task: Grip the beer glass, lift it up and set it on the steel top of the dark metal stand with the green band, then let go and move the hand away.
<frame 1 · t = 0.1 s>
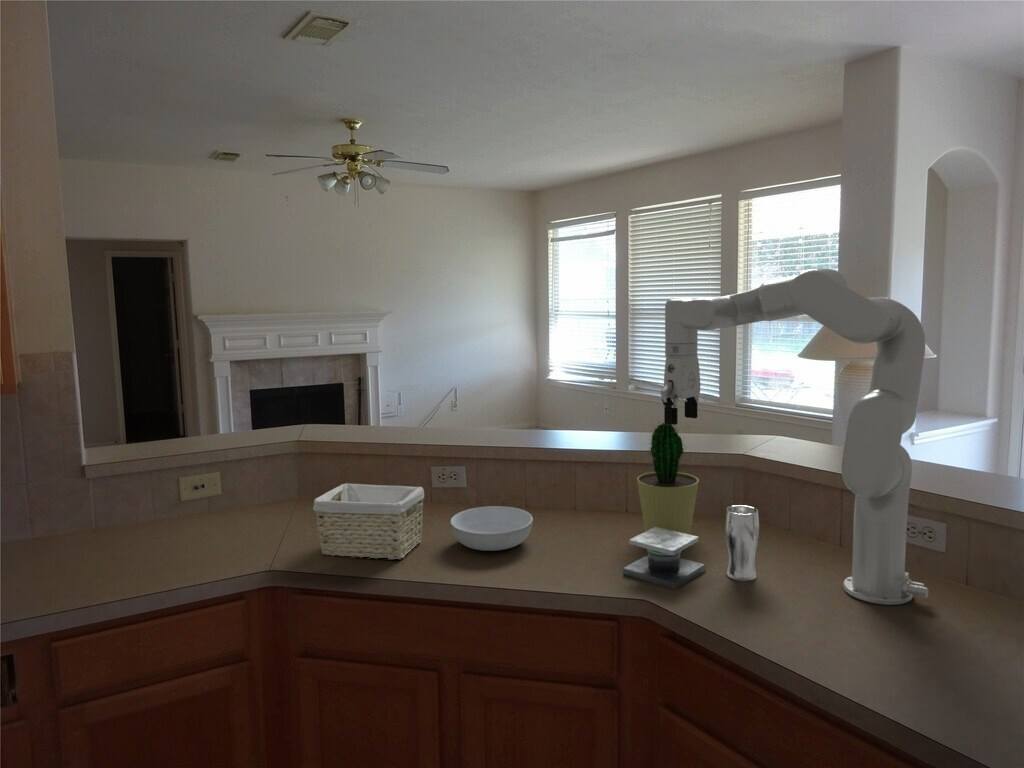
hand: (681, 420, 171), 31 cm above the worktop, tool pointing down, fingers open, 9 cm apart
serving bowl: (492, 545, 180), on the worktop
metal stand: (664, 572, 158), on the worktop
storage basket: (372, 549, 179), on the worktop
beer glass: (741, 576, 155), on the worktop
potted cactus: (667, 535, 182), on the worktop
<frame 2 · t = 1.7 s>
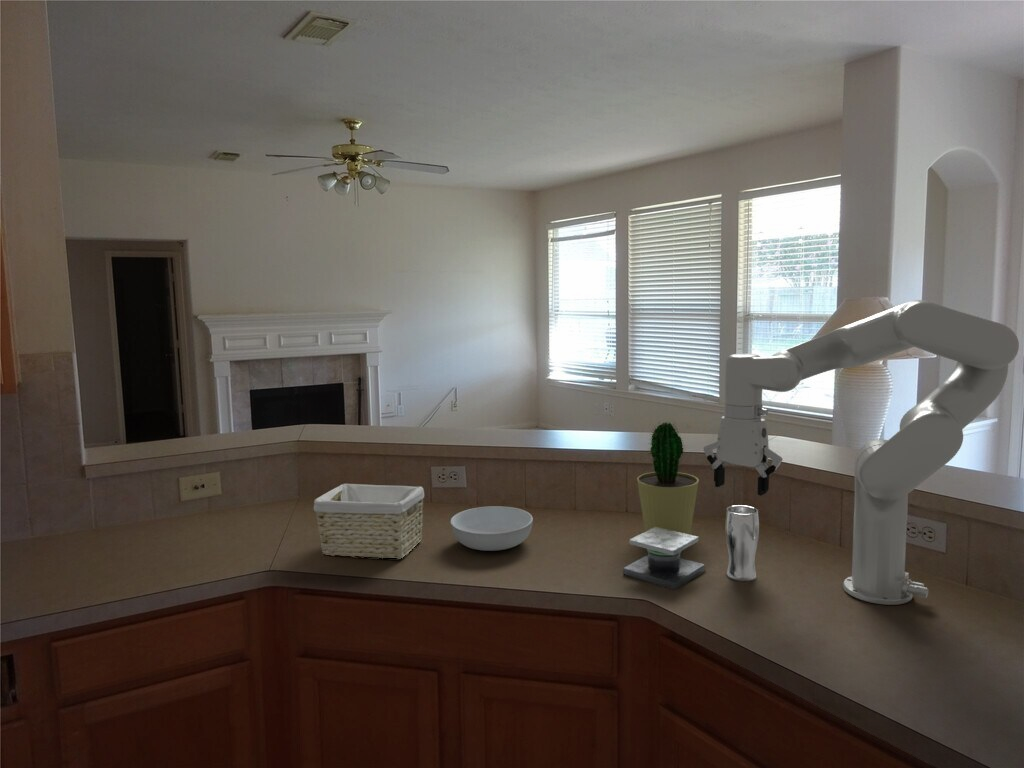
hand: (740, 489, 153), 19 cm above the worktop, tool pointing down, fingers open, 9 cm apart
nothing on the worktop moved.
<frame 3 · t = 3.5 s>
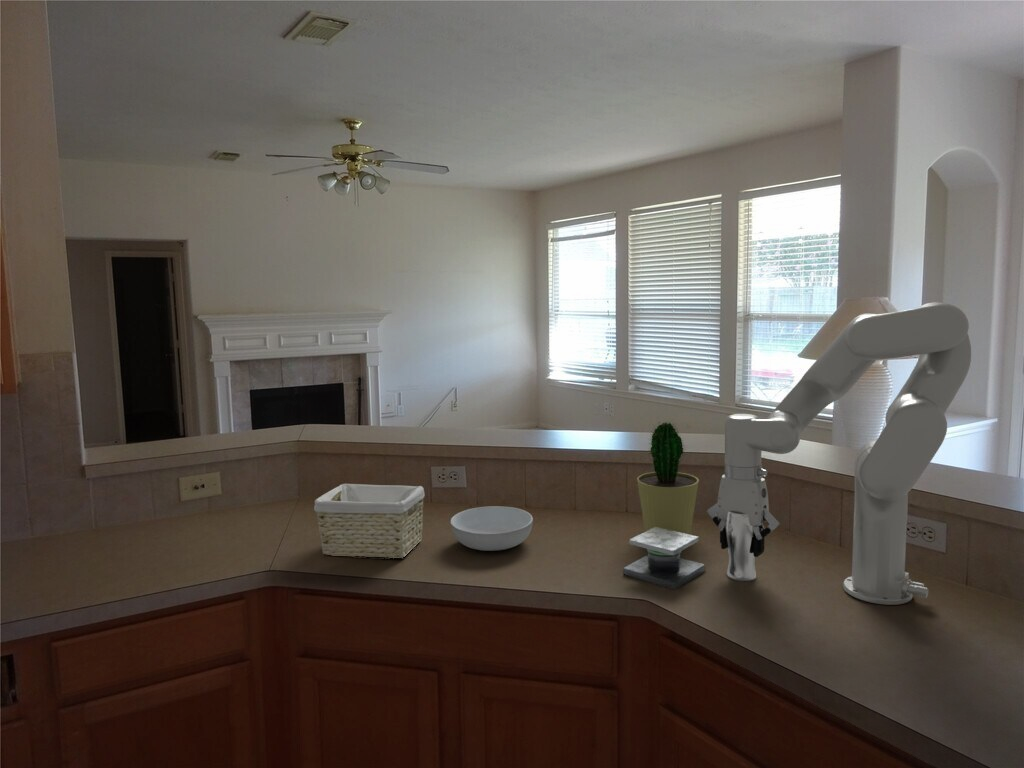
hand: (741, 550, 155), 6 cm above the worktop, tool pointing down, fingers closed on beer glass, 6 cm apart
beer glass: (741, 576, 155), on the worktop, touching gripper
everything else where it was.
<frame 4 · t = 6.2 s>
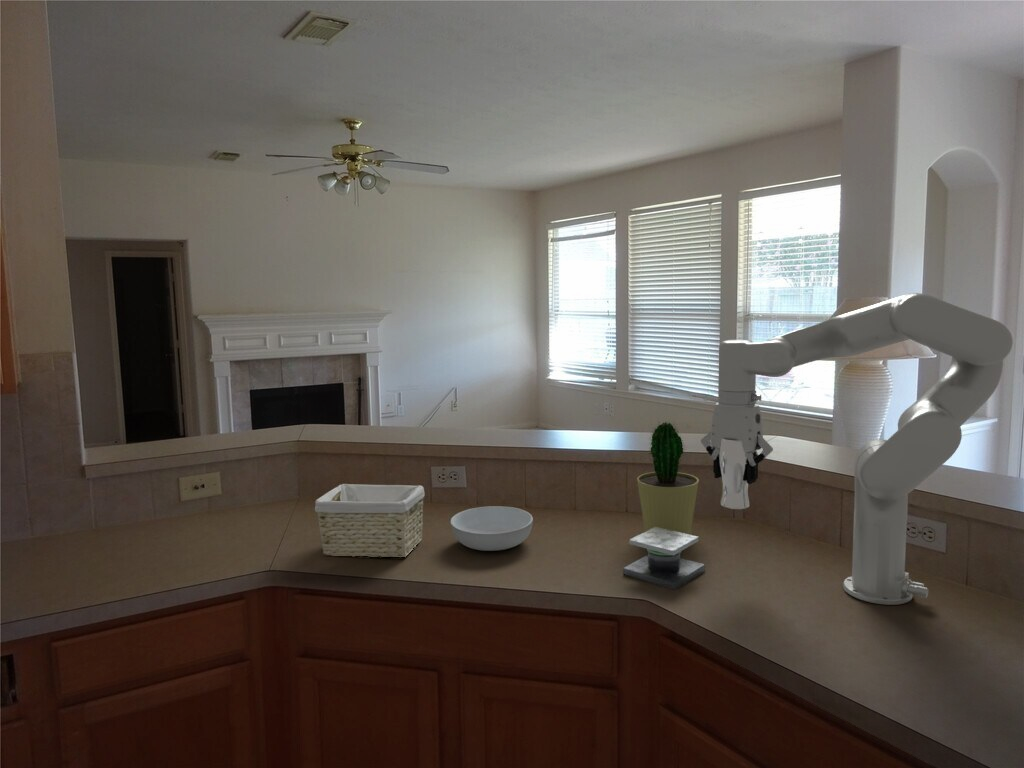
hand: (735, 479, 153), 22 cm above the worktop, tool pointing down, fingers closed on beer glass, 6 cm apart
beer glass: (734, 505, 154), point 16 cm above the worktop, touching gripper
everything else where it was.
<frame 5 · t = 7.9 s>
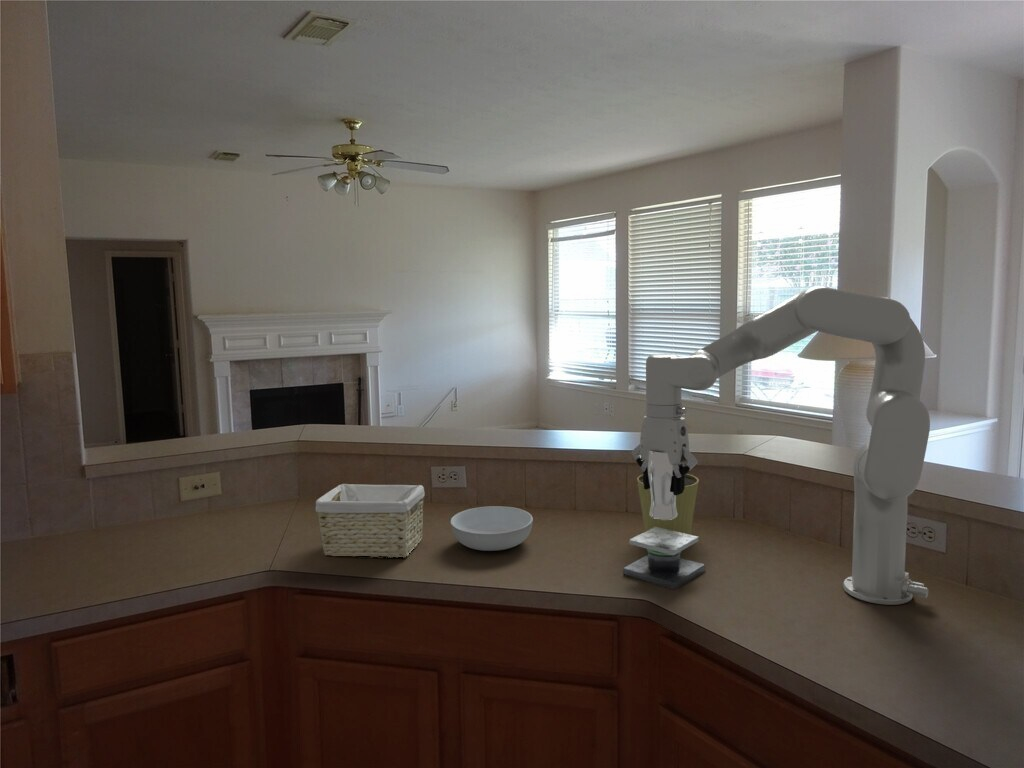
hand: (663, 490, 156), 19 cm above the worktop, tool pointing down, fingers closed on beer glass, 6 cm apart
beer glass: (663, 516, 157), point 13 cm above the worktop, touching gripper
everything else where it was.
when the fingers open (15 cm above the worktop, at t = 9.0 s): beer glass drops 1 cm, resting on metal stand.
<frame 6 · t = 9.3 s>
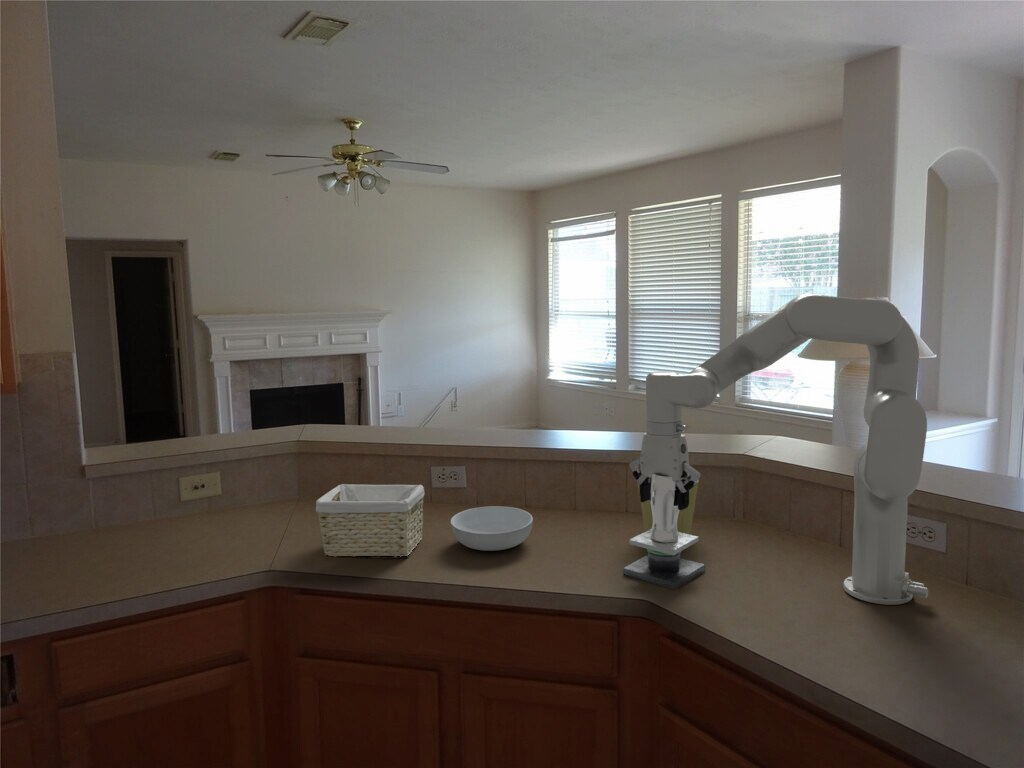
hand: (663, 504, 156), 16 cm above the worktop, tool pointing down, fingers open, 9 cm apart
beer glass: (664, 538, 157), point 8 cm above the worktop, touching metal stand
everything else where it was.
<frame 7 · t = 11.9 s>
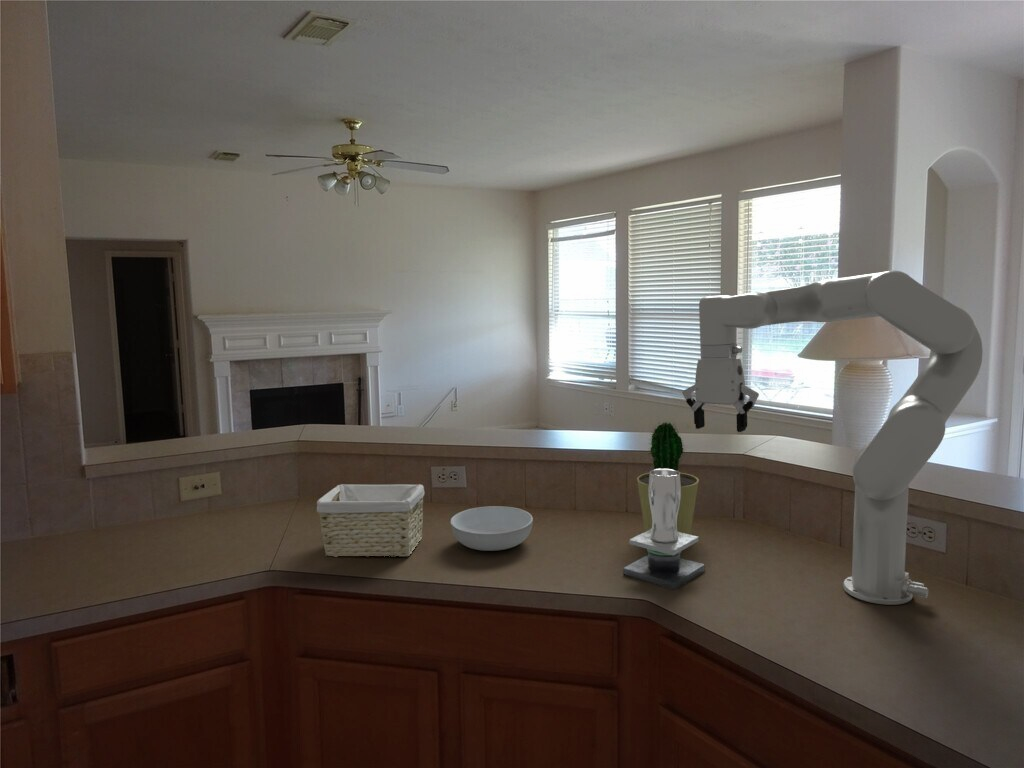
hand: (720, 429, 157), 32 cm above the worktop, tool pointing down, fingers open, 9 cm apart
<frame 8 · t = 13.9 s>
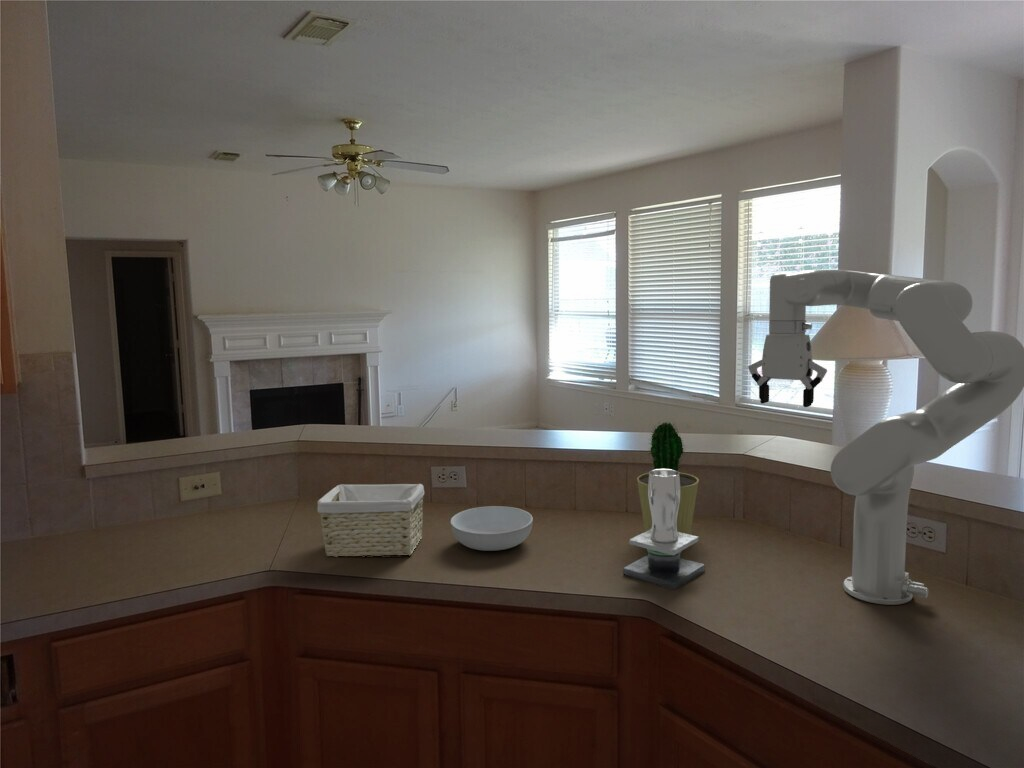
hand: (785, 404, 160), 36 cm above the worktop, tool pointing down, fingers open, 9 cm apart
at the end: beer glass inside the target area on the metal stand (0.1 cm from its centre), point 7.8 cm above the metal stand's base; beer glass tilted 0°; the gripper is holding nothing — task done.
